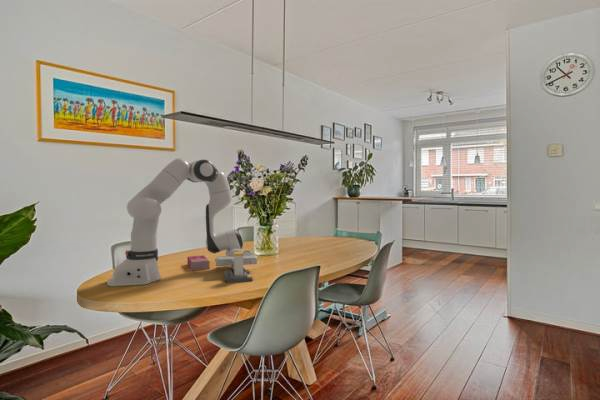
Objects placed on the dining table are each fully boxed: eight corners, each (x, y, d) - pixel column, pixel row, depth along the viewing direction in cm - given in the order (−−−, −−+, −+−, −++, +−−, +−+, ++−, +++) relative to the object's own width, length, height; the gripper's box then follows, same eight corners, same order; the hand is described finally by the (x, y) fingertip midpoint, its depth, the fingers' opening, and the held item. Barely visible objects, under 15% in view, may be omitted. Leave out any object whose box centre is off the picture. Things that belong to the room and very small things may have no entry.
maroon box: (202, 253, 205) (209, 260, 187) (202, 261, 206) (209, 269, 188) (186, 254, 201) (191, 262, 183) (186, 263, 202) (191, 271, 184)
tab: (234, 277, 164) (234, 253, 164) (233, 275, 168) (233, 252, 168) (243, 276, 165) (243, 253, 165) (242, 274, 169) (242, 251, 169)
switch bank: (226, 282, 161) (226, 276, 161) (224, 273, 177) (224, 268, 177) (252, 280, 164) (252, 275, 164) (248, 272, 180) (248, 267, 180)
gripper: (214, 252, 179) (215, 258, 166) (254, 251, 184) (258, 256, 171) (214, 265, 179) (215, 271, 166) (254, 263, 185) (258, 269, 171)
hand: (238, 263), depth 168 cm, fingers closed, pressing on tab
